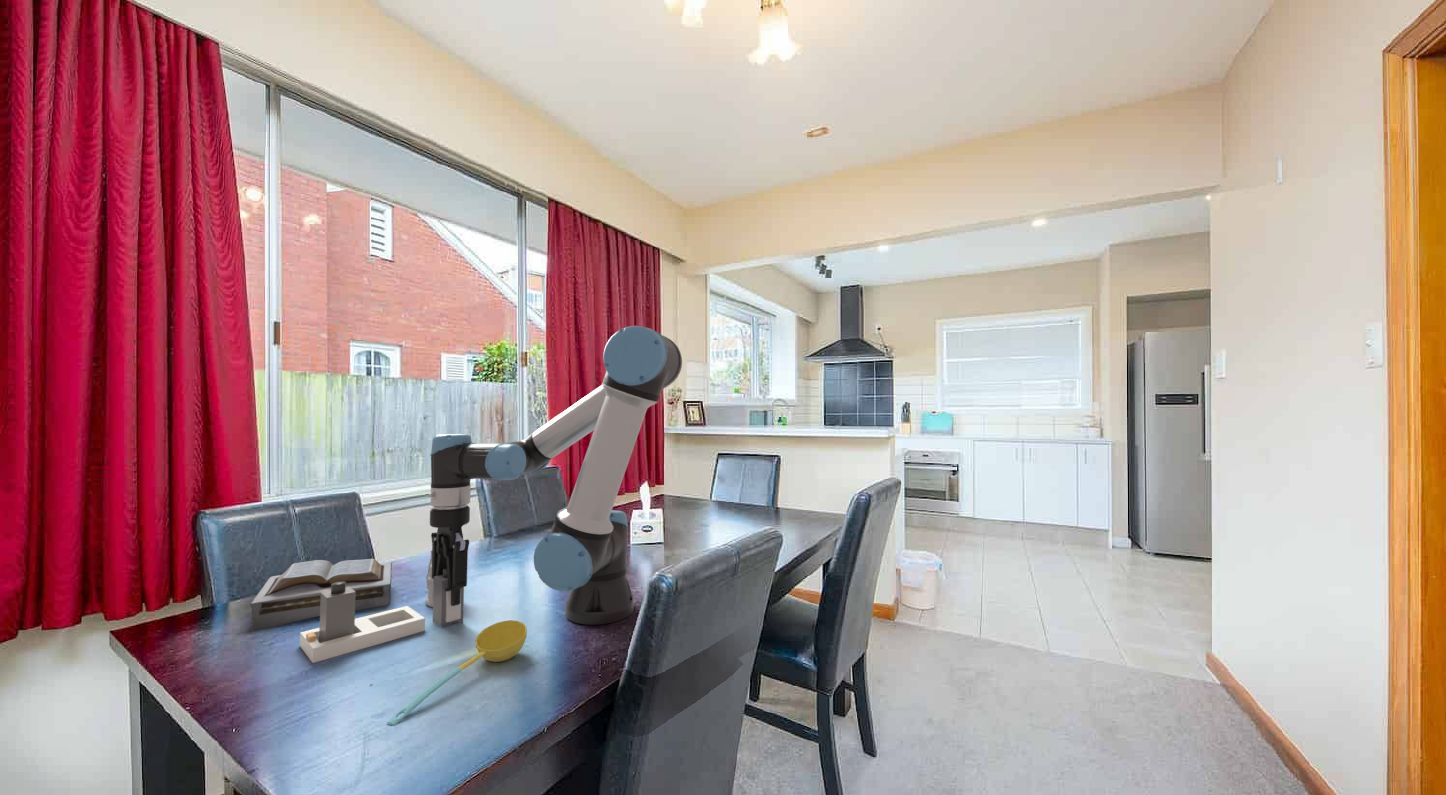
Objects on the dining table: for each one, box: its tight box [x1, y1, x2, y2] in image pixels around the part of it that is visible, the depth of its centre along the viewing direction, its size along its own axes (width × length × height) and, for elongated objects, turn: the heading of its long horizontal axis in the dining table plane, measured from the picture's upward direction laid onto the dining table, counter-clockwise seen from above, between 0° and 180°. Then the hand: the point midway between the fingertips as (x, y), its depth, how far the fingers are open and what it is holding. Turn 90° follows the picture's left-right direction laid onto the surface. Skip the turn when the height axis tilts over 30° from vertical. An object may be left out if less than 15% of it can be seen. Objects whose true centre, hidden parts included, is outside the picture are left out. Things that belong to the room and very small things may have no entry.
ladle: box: [386, 619, 528, 726], centre depth 86 cm, size 9×26×6 cm, turn 161°
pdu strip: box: [299, 605, 426, 664], centre depth 100 cm, size 10×18×4 cm, turn 140°
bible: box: [250, 558, 393, 633], centre depth 119 cm, size 23×27×10 cm
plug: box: [432, 568, 465, 628], centre depth 108 cm, size 4×4×12 cm
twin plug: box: [318, 582, 356, 643], centre depth 96 cm, size 4×4×12 cm
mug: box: [425, 550, 434, 608], centre depth 120 cm, size 8×12×12 cm, turn 54°
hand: (448, 616), depth 108 cm, fingers closed on plug, 4 cm apart
